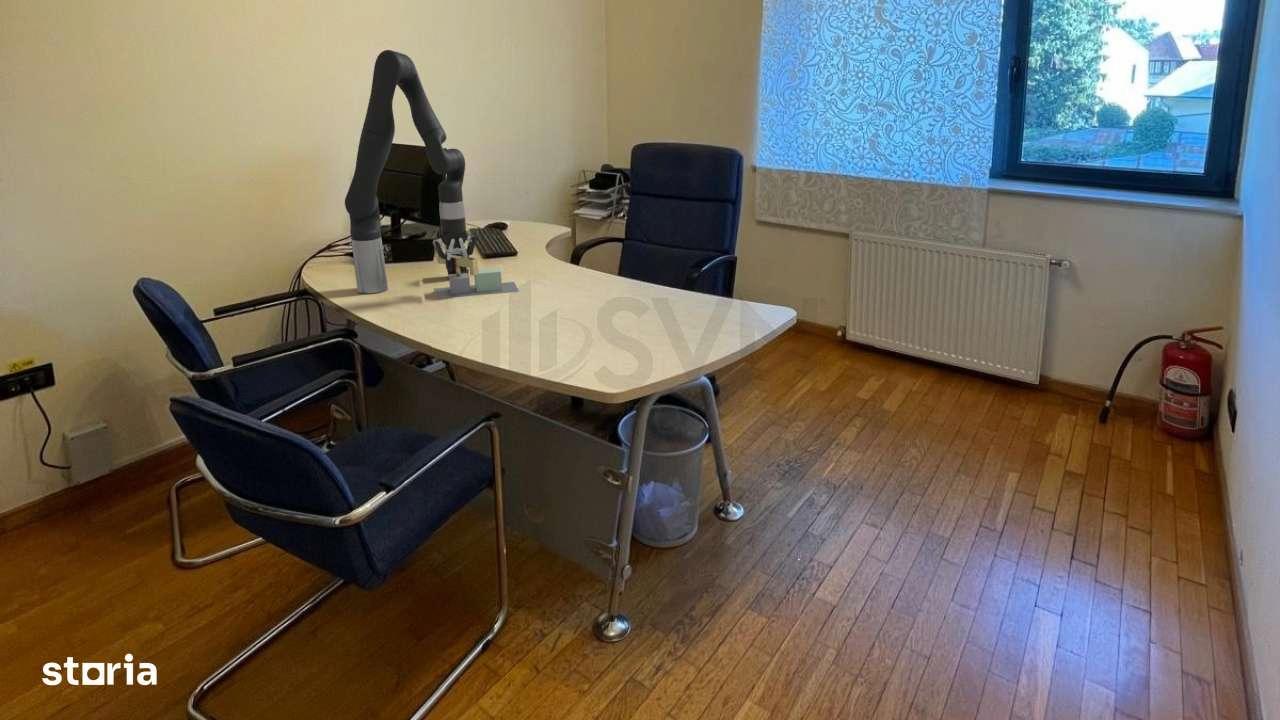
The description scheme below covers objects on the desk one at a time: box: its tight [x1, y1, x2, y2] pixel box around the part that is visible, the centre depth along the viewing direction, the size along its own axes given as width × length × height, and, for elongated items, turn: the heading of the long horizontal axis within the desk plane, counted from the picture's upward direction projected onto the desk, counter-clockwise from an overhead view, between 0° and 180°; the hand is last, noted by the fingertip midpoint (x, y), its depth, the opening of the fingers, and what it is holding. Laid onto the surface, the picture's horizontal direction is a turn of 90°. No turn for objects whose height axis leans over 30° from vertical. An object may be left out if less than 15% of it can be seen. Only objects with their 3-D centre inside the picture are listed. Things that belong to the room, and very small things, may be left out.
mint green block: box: [473, 267, 503, 292], centre depth 257 cm, size 8×5×6 cm, turn 106°
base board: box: [433, 273, 520, 300], centre depth 256 cm, size 26×12×6 cm, turn 106°
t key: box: [436, 254, 479, 276], centre depth 253 cm, size 14×2×6 cm, turn 63°
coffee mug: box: [442, 248, 470, 277], centre depth 272 cm, size 12×9×10 cm
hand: (457, 269), depth 253 cm, fingers closed on t key, 4 cm apart
